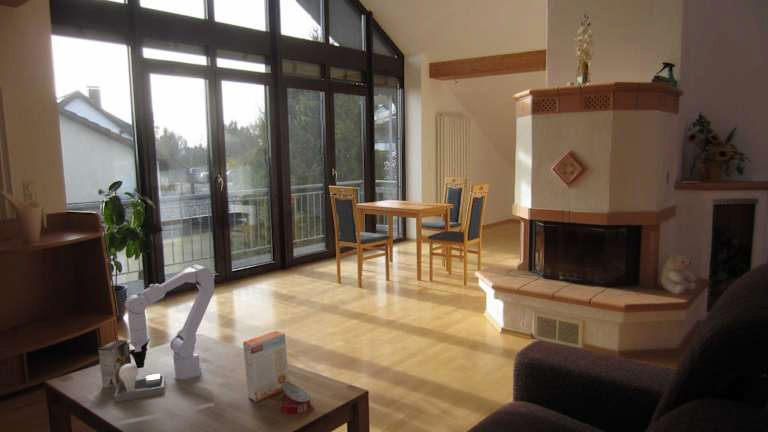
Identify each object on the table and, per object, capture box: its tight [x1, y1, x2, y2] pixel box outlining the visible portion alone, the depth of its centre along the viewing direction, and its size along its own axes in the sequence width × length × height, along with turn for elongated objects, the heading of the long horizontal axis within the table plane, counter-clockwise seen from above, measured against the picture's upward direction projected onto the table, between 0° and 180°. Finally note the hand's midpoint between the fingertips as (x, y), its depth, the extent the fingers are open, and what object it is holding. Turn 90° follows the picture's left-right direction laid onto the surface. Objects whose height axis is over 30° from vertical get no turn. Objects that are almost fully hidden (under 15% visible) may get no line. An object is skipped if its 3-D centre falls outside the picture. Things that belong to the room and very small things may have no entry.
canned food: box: [279, 381, 311, 415], centre depth 176 cm, size 11×10×10 cm
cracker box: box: [242, 330, 290, 403], centre depth 186 cm, size 14×6×21 cm, turn 135°
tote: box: [113, 374, 166, 403], centre depth 190 cm, size 16×11×4 cm
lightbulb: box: [119, 363, 139, 392], centre depth 188 cm, size 6×6×11 cm
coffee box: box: [97, 339, 132, 389], centre depth 198 cm, size 9×6×16 cm
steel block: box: [145, 373, 161, 389], centre depth 192 cm, size 4×4×4 cm
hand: (141, 363), depth 192 cm, fingers open, 7 cm apart
